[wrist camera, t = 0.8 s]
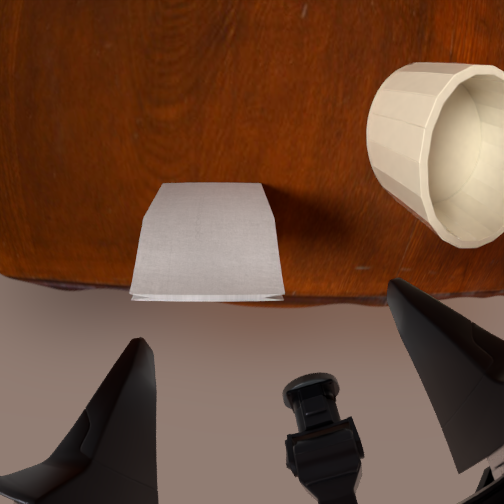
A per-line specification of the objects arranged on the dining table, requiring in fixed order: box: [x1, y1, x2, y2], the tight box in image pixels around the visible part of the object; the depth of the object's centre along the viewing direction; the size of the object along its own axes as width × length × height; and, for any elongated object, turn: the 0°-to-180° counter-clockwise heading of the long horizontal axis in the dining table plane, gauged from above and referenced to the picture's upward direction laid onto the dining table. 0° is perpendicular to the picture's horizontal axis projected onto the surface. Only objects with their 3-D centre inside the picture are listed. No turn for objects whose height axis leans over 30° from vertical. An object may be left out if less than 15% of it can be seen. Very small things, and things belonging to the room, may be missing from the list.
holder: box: [366, 62, 504, 248], centre depth 17 cm, size 12×12×7 cm
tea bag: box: [129, 183, 285, 301], centre depth 17 cm, size 4×7×10 cm, turn 87°
